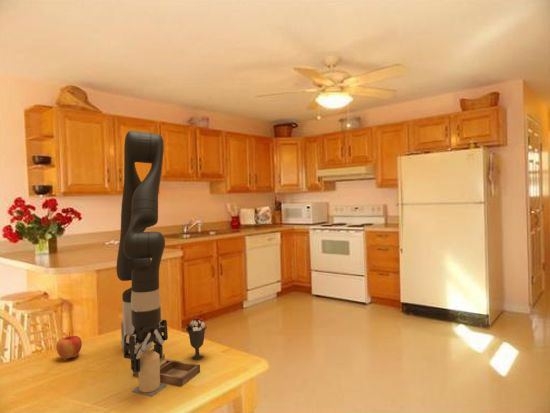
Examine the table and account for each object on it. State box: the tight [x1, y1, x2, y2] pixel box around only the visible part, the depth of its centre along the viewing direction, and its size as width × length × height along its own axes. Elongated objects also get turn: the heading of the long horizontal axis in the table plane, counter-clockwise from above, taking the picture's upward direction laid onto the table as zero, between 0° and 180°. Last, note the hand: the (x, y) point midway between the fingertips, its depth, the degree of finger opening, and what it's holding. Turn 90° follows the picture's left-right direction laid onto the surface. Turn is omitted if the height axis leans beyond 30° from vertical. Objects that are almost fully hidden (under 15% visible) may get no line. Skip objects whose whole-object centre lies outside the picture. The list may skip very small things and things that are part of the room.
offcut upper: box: [160, 353, 166, 363], centre depth 113 cm, size 4×5×2 cm
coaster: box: [130, 382, 168, 397], centre depth 103 cm, size 7×6×1 cm
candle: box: [138, 349, 161, 392], centre depth 103 cm, size 6×6×10 cm
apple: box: [55, 332, 83, 361], centre depth 125 cm, size 7×7×8 cm
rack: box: [132, 348, 201, 387], centre depth 111 cm, size 17×9×5 cm, turn 67°
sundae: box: [185, 310, 208, 361], centre depth 122 cm, size 7×7×15 cm
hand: (147, 364), depth 103 cm, fingers open, 8 cm apart
